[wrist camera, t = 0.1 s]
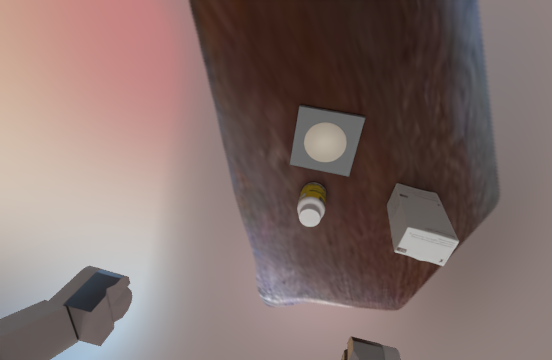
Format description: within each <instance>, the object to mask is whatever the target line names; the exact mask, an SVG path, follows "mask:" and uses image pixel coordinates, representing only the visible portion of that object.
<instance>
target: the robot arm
mask: <svg viewBox="0 0 552 360" xmlns="http://www.w3.org/2000/svg"><path fill="white" fill-rule="evenodd" d="M129 284H130V281H129V277H127V276H124V275H120V274H117V273H113V272H110V271H106V270H103V269H99V268H96V267H92V266H88V267H86V268H84V269H83V270H82V271H80V272H79V273H78V274H77V275H76V276H75V277H74V278H73V279H72V280H71V281H70V282H69V283H67V284H66V285H65V286H64V287H63V288H62V289H61V290H60V291H59V292H58V293H57V294H56V295H54V296H53V297H52V298H51V299H50V300H49V301H46V300H44V301H42V302H39V303H37V304H34V305H32V306H30V307H28V308H25V309H23V310H20V311H18V312H16V313H14V314H11V315H9V316H6V317H4V318H2V319H0V360H50V359H52V358H53V357H55V356H56V355H58V354H60V353H61V352H63V351H64V350H66V349H67V348H69V347H70V346H72V345H74V344H75V343H77V342H78V340H80V341H83V342H87V343H91V344H95V345H98V346H101V345H102V343H103V342H104V341H105V340H106V338H107V337H108V336H109V334H110V333H111V332H112V330H113V329H114V322H115V321H117V320H119V319H120V318H122V317H123V316H124V314H125V313H126V312H127V310H128V308H129V306H130V304H131V300H132V292H131V290H130V289H129V288H128V287H127V286H128V285H129ZM341 360H401V359H400V355H399V352H398V350H397V349H396V348H393V347H388V346H384V345H381V344H379V343H375V342H371V341H367V340H362V339H359V338H355V337H350V338H349V341H348V349H346V350H344V353H343V355H342V359H341Z"/></svg>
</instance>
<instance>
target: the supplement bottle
mask: <svg viewBox="0 0 552 360" xmlns="http://www.w3.org/2000/svg"><path fill="white" fill-rule="evenodd" d="M325 205H326V190H325V188H324V187H323V186H322V185H321V184H319V183H315V182H312V183H308V184H306V185H305V186H304V187H303V188H302V191H301V195H300V198H299V202H298V207H297V211H298V214H299V220H300V222H301V223H302V224H303V225H305V226H308V227H313V226H316V225H317V224H318V223H319V222H320V219H321V218H322V217H323V215H324V213H325Z"/></svg>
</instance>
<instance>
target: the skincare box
mask: <svg viewBox="0 0 552 360" xmlns="http://www.w3.org/2000/svg"><path fill="white" fill-rule="evenodd" d="M387 210H388V216H389V222H390V228H391V234H392V240H393V246H394V252H396V253H400V254H404V255H408V256H411V257H413V258H415V259H417V260H421V261H428V262H432V263H435V264H438V265H441V266H444V265H445V263H446V261H447V260H448V258H449V257H450V255H451V253H452V252H453V250H454V249H455V247H456V246H457V244H458V243H459V241H458V239H457V236H456V234H455V232H454V230H453V228H452V225H451V223H450V221H449V219H448V217H447V214H446V212H445V210H444V208H443V206H442V203H441V201H440V199H439V197H438V195H437V194H436V193H434V192H428V191H424V190H420V189H416V188H412V187H409V186H405V185H402V184H399V183H397V184H396V186H395V188H394V190H393V192H392V195H391V197H390V199H389V201H388V203H387Z"/></svg>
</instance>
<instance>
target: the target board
mask: <svg viewBox="0 0 552 360" xmlns="http://www.w3.org/2000/svg"><path fill="white" fill-rule="evenodd" d="M364 121H365V116H361V115H355V114H350V113H344V112H338V111H333V110H327V109H321V108H316V107H310V106H304V105H300V106H299V112H298V118H297V124H296V130H295V136H294V142H293V148H292V154H291V161H290V165H295V166H300V167H305V168H310V169H315V170H320V171H325V172H330V173H334V174H339V175H344V176H349V174H350V170H351V167H352V163H353V160H354V156H355V153H356V149H357V145H358V142H359V138H360V135H361V131H362V128H363V124H364Z"/></svg>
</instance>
